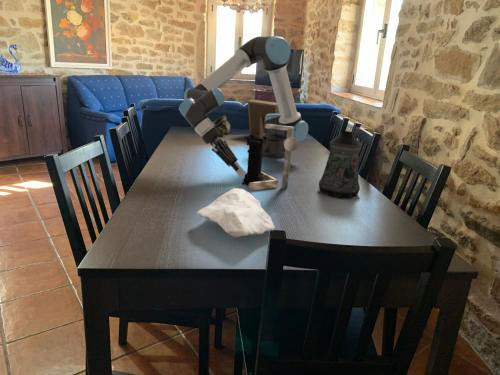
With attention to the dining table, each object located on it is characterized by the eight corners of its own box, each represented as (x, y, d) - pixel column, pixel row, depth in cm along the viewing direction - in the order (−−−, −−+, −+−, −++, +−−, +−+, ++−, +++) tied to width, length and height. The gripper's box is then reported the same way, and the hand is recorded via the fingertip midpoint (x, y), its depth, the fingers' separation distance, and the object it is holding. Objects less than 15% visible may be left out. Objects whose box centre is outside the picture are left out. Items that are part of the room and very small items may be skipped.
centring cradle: (277, 177, 167) (282, 120, 159) (292, 189, 152) (299, 128, 144) (237, 178, 161) (241, 119, 153) (250, 191, 146) (254, 127, 138)
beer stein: (335, 201, 142) (345, 137, 134) (306, 185, 158) (313, 127, 150) (367, 197, 150) (378, 136, 141) (336, 182, 166) (344, 127, 158)
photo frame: (253, 134, 261) (255, 98, 253) (280, 139, 251) (283, 102, 242) (241, 137, 249) (243, 100, 241) (269, 143, 239) (272, 104, 230)
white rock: (189, 245, 98) (195, 214, 95) (200, 198, 131) (205, 174, 128) (275, 261, 100) (283, 231, 97) (264, 210, 133) (270, 187, 130)
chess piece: (264, 182, 159) (268, 136, 153) (260, 187, 152) (264, 139, 145) (246, 179, 161) (249, 133, 154) (241, 184, 153) (244, 137, 147)
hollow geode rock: (219, 144, 245) (236, 129, 241) (206, 130, 241) (222, 115, 238) (222, 135, 271) (237, 121, 267) (210, 122, 268) (225, 108, 264)
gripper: (207, 134, 162) (241, 176, 163) (195, 139, 150) (232, 184, 151) (219, 124, 159) (253, 166, 160) (208, 128, 147) (245, 174, 148)
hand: (243, 175), depth 156 cm, fingers closed
